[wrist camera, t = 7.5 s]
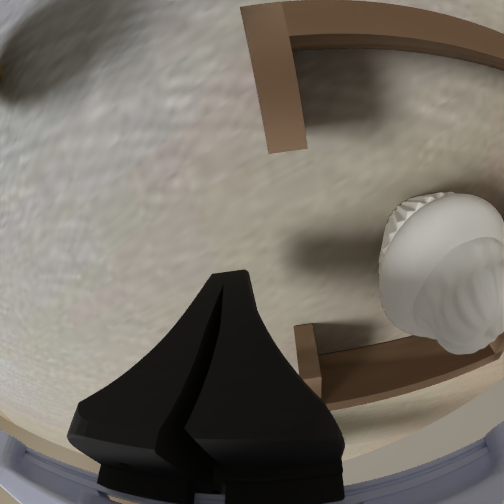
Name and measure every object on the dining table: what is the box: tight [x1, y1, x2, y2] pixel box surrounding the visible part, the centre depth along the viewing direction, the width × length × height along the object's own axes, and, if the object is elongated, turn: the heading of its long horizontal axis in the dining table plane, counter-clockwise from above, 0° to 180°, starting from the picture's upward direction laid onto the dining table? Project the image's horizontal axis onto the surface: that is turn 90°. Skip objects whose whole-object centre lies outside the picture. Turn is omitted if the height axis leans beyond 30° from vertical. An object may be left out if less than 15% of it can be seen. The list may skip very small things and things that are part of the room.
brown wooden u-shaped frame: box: [240, 0, 504, 411], centre depth 10 cm, size 18×14×4 cm
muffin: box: [378, 192, 504, 355], centre depth 9 cm, size 6×6×7 cm
